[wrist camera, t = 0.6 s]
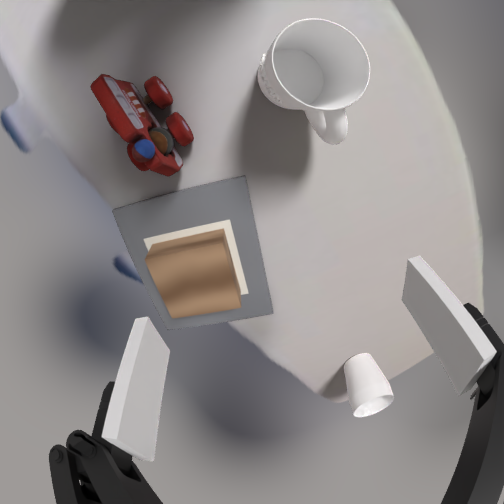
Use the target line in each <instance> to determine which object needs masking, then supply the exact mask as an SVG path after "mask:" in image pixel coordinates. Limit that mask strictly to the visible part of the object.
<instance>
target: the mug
mask: <svg viewBox="0 0 504 504" xmlns="http://www.w3.org/2000/svg"><path fill="white" fill-rule="evenodd" d="M369 78H370V63H369V59H368V56H367V53H366V51H365V49H364V47H363V45H362V44H361V42H360V41H359V40H358V39H357V38H356V36H355V35H353V34H352V33H351V32H350V31H349V30H347V29H346V28H344V27H343V26H341V25H339V24H337V23H334V22H332V21H328V20H324V19H315V18H310V19H303V20H299V21H296V22H293V23H291V24H289V25H288V26H286V27H285V28H284V29H282V30H281V32H280V33H279V34H278V35H277V36H276V38H275V40H274V41H273V43H272V45H271V46H270V48H269V50H268V51H267V53H266V54H264V53H263V55H262V58H261V63H260V66H259V69H258V83H259V86H260V89H261V91H262V92H263V94H264V95H265V96H266V97H267V98H268V99H269V100H270V101H271V102H272V103H274V104H276V105H278V106H280V107H282V108H286V109H295V110H303V111H304V112H305V114H306V117H307V118H308V120H309V122H310V124H311V125H312V127H313V128H314V130H315V131H316V133H317V134H318V135H319V137H320V138H321V139H322V140H323V141H325V142H326V143H329V144H331V145H334V144H339V143H341V142H342V141H343V140H344V139H345V137H346V134H347V131H348V122H347V116H346V111H345V108H346V107H348V106H350V105H352V104H353V103H355V102H356V101H357V100H358V99H359V98H360V97H361V96H362V95H363V93H364V91H365V90H366V88H367V86H368V82H369Z"/></svg>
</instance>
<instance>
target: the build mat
mask: <svg viewBox="0 0 504 504" xmlns="http://www.w3.org/2000/svg"><path fill="white" fill-rule="evenodd" d="M112 212H113V215H114V217H115V220H116V222H117V225H118V227H119V230H120V232H121V235H122V237H123V239H124V242H125V244H126V247H127V249H128V251H129V253H130V256H131V258H132V260H133V262H134V265H135V267H136V269H137V271H138V273H139V275H140V277H141V280H142V282H143V284H144V286H145V288H146V290H147V292H148V294H149V296H150V298H151V300H152V302H153V304H154V305H155V308H156V309H157V311H158V313H159V315H160V316H161V319H162V321H163V323H164V324H165V326H166V328H167V330H173V329H180V328H188V327H195V326H202V325H208V324H215V323H222V322H228V321H234V320H240V319H246V318H252V317H257V316H263V315H268V314H273V308H272V303H271V298H270V293H269V288H268V283H267V278H266V273H265V268H264V264H263V259H262V254H261V249H260V244H259V239H258V234H257V230H256V225H255V220H254V215H253V210H252V206H251V201H250V196H249V191H248V187H247V182H246V177H245V176H240V177H235V178H231V179H226V180H222V181H217V182H213V183H208V184H204V185H200V186H196V187H192V188H188V189H184V190H180V191H176V192H172V193H169V194H165V195H161V196H157V197H154V198H150V199H147V200H143V201H140V202H137V203H133V204H130V205H127V206H123V207H120V208H117V209H114V210H113V211H112ZM223 228H224V231H225V234H226V238H227V242H228V246H229V249H230V253H231V257H232V260H233V264H234V268H235V271H236V275H237V279H238V282H239V286H240V289H241V308H237V309H231V310H225V311H219V312H213V313H207V314H200V315H194V316H187V317H180V318H173V319H172V317H171V315H170V313H169V311H168V309H167V307H166V305H165V303H164V301H163V299H162V297H161V295H160V293H159V291H158V289H157V286H156V284H155V282H154V280H153V278H152V276H151V273H150V271H149V269H148V267H147V264H146V262H145V258H146V256H147V254H148V252H149V250H150V248H151V246H152V244H155V243H159V242H164V241H168V240H173V239H177V238H182V237H186V236H191V235H195V234H200V233H204V232H209V231H214V230H218V229H223Z"/></svg>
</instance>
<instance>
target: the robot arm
mask: <svg viewBox="0 0 504 504" xmlns="http://www.w3.org/2000/svg"><path fill="white" fill-rule="evenodd" d="M402 301H403V303H404V304H405V306H406V307H407V309H408V310H409V312H410V313H411V315H412V316H413V318H414V319H415V321H416V323H417V324H418V326H419V327H420V329H421V330H422V332H423V334H424V335H425V337H426V339H427V340H428V342H429V344H430V345H431V347H432V349H433V350H434V352H435V354H436V356H437V357H438V359H439V361H440V362H441V364H442V366H443V368H444V370H445V372H446V373H447V375H448V377H449V379H450V381H451V383H452V385H453V387H454V389H455V390H456V392H457V394H458V396H460V395H462V394H463V393H465V392H467V391H468V390H470V389H471V388H472V387H473V386H474V384H475V383H476V382H477V384H478V388H477V389H476V390H475V391H474V393H473V394H472V395H471V398H470V399H472V398H473V397H474V396H475V395H476V397H475V402H474V407H473V412H472V416H471V420H470V424H469V428H468V432H467V436H466V439H465V442H464V446H463V449H462V452H461V455H460V458H459V461H458V464H457V467H456V469H455V472H454V475H453V477H452V480H451V482H450V485H449V487H448V489H447V492H446V494H445V496H444V498H443V500H442V503H441V504H497V502H498V500H499V497H500V494H501V492H502V488H503V486H504V344H503V342H502V341H501V340H500V338H499V337H498V335H497V334H496V333H495V331H494V330H493V328H492V327H491V326H490V325H489V324H488V322H487V320H486V319H485V318H483V315H482V314H481V313H480V312H479V310H478V309H477V308H476V307H474V306H473V305H471V304H470V303H467V304H464V305H462V303H461V302H460V301H459V300H458V298H457V297H456V296H455V295H454V294H453V292H452V291H451V290H450V289H449V288H448V287H447V285H446V284H445V283H444V282H443V281H442V280H441V278H440V277H439V276H438V275H437V274H436V273H435V272H434V271H433V269H432V268H431V267H430V266H429V265H428V264H427V263H426V262H425V261H424V260H423V259H422V258H421V256H417V257H414V258H410V259H408V262H407V270H406V277H405V284H404V290H403V296H402ZM169 355H170V350H169V348H168V347H167V345H166V344H165V342H164V341H163V339H162V338H161V336H160V335H159V333H158V332H157V330H156V329H155V327H154V325H153V324H152V322H151V320H150V319H149V317H143V318H136V319H135V322H134V325H133V328H132V331H131V333H130V336H129V339H128V342H127V346H126V348H125V352H124V355H123V358H122V361H121V364H120V368H119V371H118V374H117V378H116V381H115V382H109V383H108V385H107V386H106V388H105V389H104V391H103V395H102V399H101V402H100V406H99V410H98V413H97V417H96V421H95V425H94V429H93V433H92V436H90V435H88V434H87V433H85V432H84V431H82V430H76V431H73V432H72V433H71V434H70V435H69V437H68V439H67V442H66V447H67V448H65V447H64V446H62V445H55V446H53V448H52V449H51V450H50V453H49V463H50V471H51V477H52V483H53V489H54V494H55V499H56V503H57V504H163V503H162V502H161V500H160V499H159V498H158V496H157V495H156V494H155V492H154V491H153V490H152V488H151V487H150V485H149V484H148V483H147V481H146V480H145V478H144V477H143V475H142V474H141V472H140V471H139V469H138V468H137V466H136V465H135V464H134V462H133V461H132V456H133V457H135V458H137V459H139V460H145V461H154V458H155V448H156V440H157V431H158V424H159V417H160V410H161V403H162V396H163V390H164V383H165V377H166V372H167V366H168V360H169ZM79 480H80V481H81V485H80V483H79Z"/></svg>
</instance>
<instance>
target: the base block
mask: <svg viewBox="0 0 504 504" xmlns="http://www.w3.org/2000/svg"><path fill="white" fill-rule="evenodd" d="M145 262H146V264H147V267H148V269H149V271H150V273H151V276H152V278H153V280H154V282H155V284H156V286H157V289H158V291H159V293H160V295H161V297H162V299H163V301H164V303H165V305H166V307H167V309H168V311H169V313H170V315H171V317H172V319H173V318H180V317H187V316H194V315H200V314H207V313H213V312H219V311H225V310H231V309H237V308H241V289H240V286H239V282H238V279H237V275H236V271H235V268H234V264H233V260H232V257H231V253H230V249H229V246H228V242H227V238H226V234H225V231H224V228H223V229H218V230H214V231H209V232H204V233H200V234H195V235H191V236H186V237H182V238H177V239H173V240H168V241H164V242H159V243H155V244H152V246H151V248H150V250H149V252H148V254H147V256H146V258H145Z"/></svg>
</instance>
